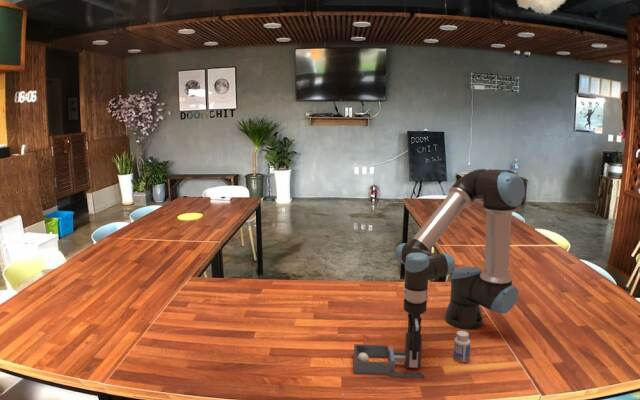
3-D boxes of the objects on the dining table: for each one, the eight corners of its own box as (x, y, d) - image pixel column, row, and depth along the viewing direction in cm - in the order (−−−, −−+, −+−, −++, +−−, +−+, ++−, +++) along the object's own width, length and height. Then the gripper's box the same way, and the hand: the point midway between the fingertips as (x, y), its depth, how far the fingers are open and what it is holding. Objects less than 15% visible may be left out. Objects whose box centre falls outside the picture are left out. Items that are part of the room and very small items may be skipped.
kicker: (417, 358, 157) (419, 329, 155) (421, 372, 148) (423, 342, 146) (388, 357, 158) (389, 328, 155) (390, 371, 149) (392, 341, 147)
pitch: (418, 355, 159) (418, 345, 159) (424, 378, 146) (424, 367, 145) (353, 352, 161) (354, 342, 160) (354, 375, 147) (354, 364, 146)
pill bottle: (466, 354, 160) (467, 329, 158) (471, 362, 155) (473, 337, 153) (451, 354, 160) (452, 329, 158) (456, 363, 155) (457, 337, 153)
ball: (365, 362, 156) (370, 353, 155) (365, 369, 152) (371, 359, 151) (355, 357, 156) (360, 348, 155) (355, 363, 152) (360, 354, 151)
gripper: (401, 289, 157) (398, 349, 161) (407, 309, 140) (404, 376, 144) (422, 289, 156) (419, 350, 161) (431, 310, 139) (427, 378, 144)
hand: (412, 362), depth 152 cm, fingers closed on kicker, 4 cm apart
